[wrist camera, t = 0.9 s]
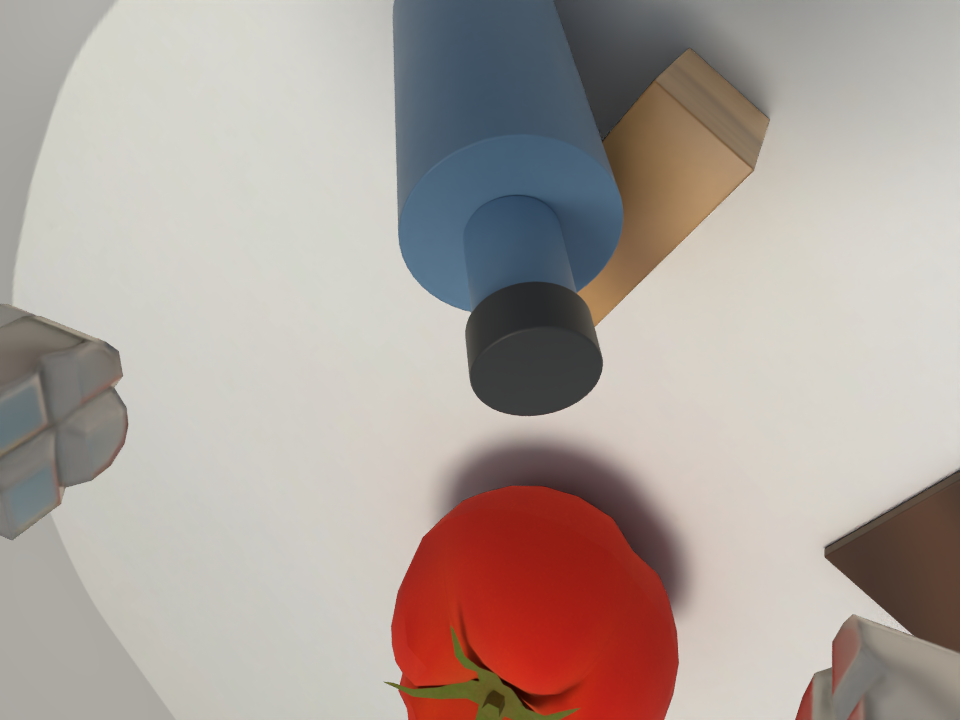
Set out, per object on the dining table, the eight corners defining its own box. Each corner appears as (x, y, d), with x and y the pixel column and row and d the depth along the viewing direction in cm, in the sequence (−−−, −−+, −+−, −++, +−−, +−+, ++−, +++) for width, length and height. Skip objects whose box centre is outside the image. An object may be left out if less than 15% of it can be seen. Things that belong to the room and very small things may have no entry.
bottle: (478, -104, 29) (150, -102, 15) (737, 128, 30) (666, 344, 16) (398, 33, 33) (69, 143, 18) (632, 238, 34) (494, 498, 19)
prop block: (689, 46, 29) (654, 79, 23) (770, 120, 29) (754, 170, 24) (556, 202, 34) (500, 261, 28) (627, 265, 34) (585, 336, 28)
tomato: (580, 407, 38) (495, 571, 29) (748, 620, 40) (721, 839, 31) (401, 503, 46) (287, 659, 36) (551, 679, 48) (481, 870, 38)
